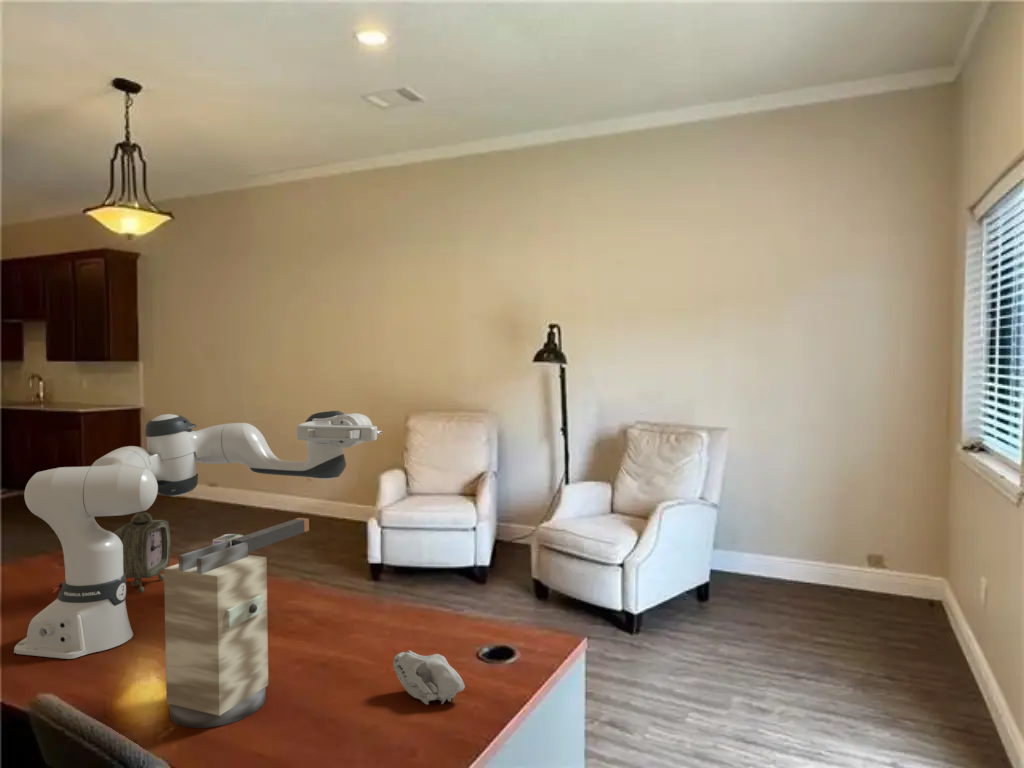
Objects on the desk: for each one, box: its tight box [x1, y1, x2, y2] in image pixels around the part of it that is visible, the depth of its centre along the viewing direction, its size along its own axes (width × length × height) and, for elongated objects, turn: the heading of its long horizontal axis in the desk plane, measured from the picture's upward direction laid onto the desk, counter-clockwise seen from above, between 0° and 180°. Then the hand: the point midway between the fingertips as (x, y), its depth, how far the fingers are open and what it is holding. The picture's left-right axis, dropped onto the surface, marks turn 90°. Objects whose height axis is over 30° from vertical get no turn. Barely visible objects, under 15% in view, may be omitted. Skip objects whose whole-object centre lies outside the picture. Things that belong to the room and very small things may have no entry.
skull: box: [392, 650, 466, 706], centre depth 129 cm, size 9×10×13 cm
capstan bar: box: [231, 517, 310, 553], centre depth 138 cm, size 20×2×2 cm, turn 159°
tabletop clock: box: [113, 511, 172, 594], centre depth 191 cm, size 14×9×25 cm, turn 179°
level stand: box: [163, 540, 269, 729], centre depth 125 cm, size 16×16×29 cm
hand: (328, 434), depth 170 cm, fingers open, 8 cm apart
